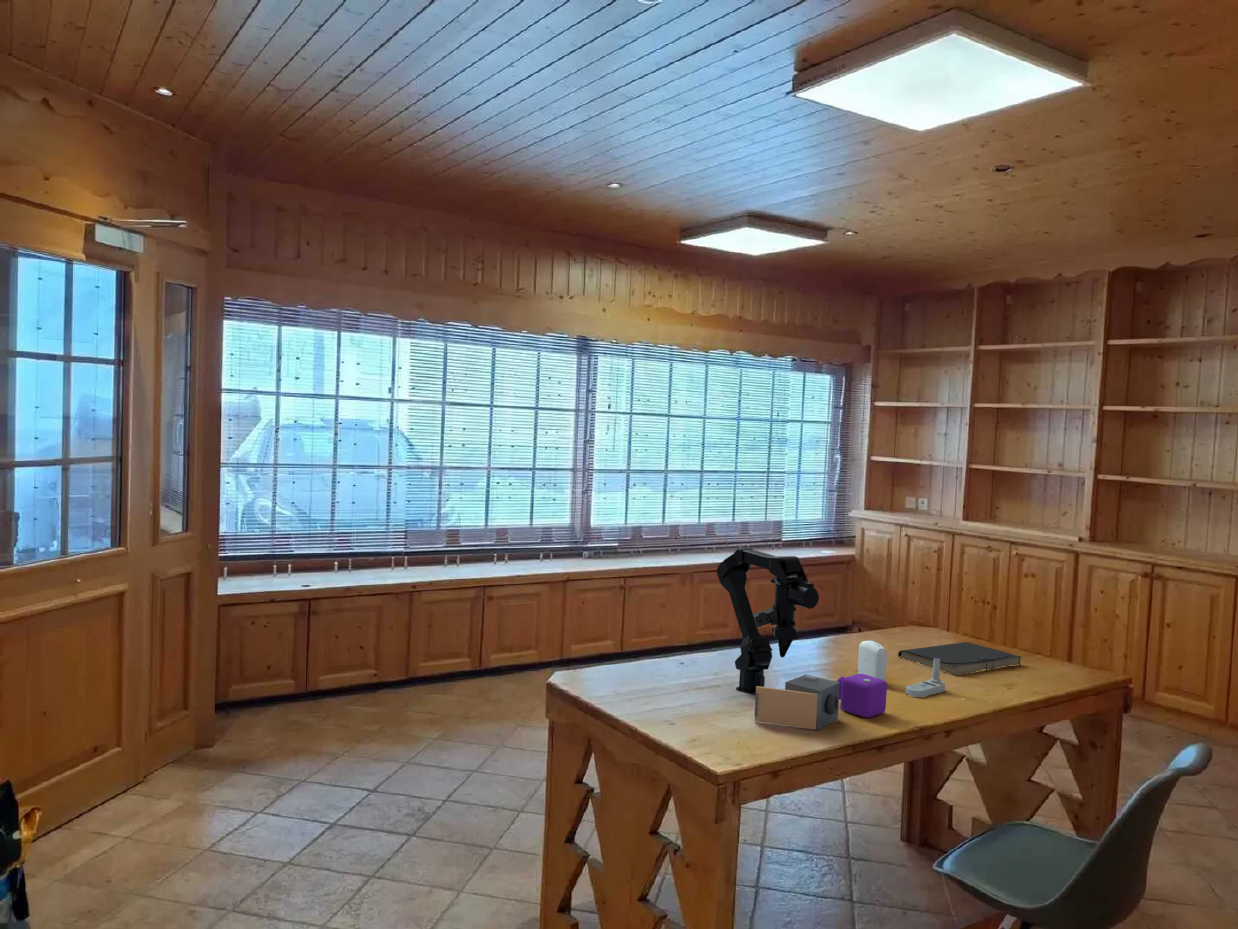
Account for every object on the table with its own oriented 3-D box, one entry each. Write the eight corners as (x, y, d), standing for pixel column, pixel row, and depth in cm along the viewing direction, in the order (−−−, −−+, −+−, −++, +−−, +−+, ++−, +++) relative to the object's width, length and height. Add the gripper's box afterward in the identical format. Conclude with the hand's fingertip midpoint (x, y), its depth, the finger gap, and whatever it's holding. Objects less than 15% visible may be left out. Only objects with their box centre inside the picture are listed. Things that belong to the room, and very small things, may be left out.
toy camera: (842, 700, 247) (844, 666, 246) (889, 712, 238) (891, 676, 238) (825, 709, 239) (827, 673, 238) (873, 721, 230) (875, 684, 229)
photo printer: (855, 677, 272) (857, 638, 271) (866, 676, 273) (869, 637, 273) (875, 687, 262) (878, 646, 261) (887, 686, 263) (889, 645, 263)
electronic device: (903, 663, 256) (934, 655, 264) (902, 695, 256) (932, 687, 265) (919, 667, 251) (949, 659, 260) (917, 700, 252) (948, 692, 260)
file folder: (957, 665, 277) (898, 648, 298) (956, 678, 278) (897, 660, 298) (1022, 655, 294) (962, 640, 315) (1021, 667, 294) (961, 651, 315)
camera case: (783, 719, 228) (785, 679, 228) (804, 710, 236) (806, 672, 236) (821, 730, 221) (824, 689, 220) (842, 721, 229) (844, 681, 228)
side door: (754, 722, 224) (755, 687, 224) (754, 720, 226) (756, 686, 225) (819, 731, 220) (821, 696, 219) (820, 729, 221) (822, 694, 221)
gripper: (754, 593, 251) (751, 646, 251) (757, 606, 232) (754, 663, 233) (793, 595, 250) (790, 649, 250) (799, 609, 231) (796, 667, 232)
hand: (782, 657), depth 241 cm, fingers closed
